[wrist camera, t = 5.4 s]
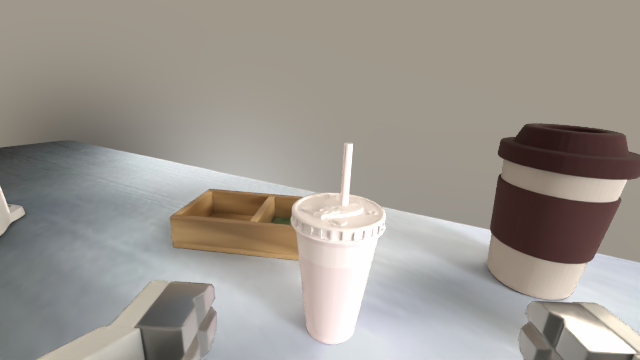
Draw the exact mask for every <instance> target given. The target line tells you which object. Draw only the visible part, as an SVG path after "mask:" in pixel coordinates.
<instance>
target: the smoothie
mask: <svg viewBox="0 0 640 360" xmlns="http://www.w3.org/2000/svg"><path fill="white" fill-rule="evenodd" d="M352 149H353V144H352V143H344V155H343V168H342V182H341V193H319V194H313V195H309V196H305V197H303V198H301V199H299V200H297V201H296V202H295V203H294V204H293V206H292V216H291V219H290V220H291V225H292V226H293V228H294V229H295V230H296V233H297V245H298V253H299V262H300V271H301V281H302V290H303V299H304V309H305V318H306V327H307V330H308V332H309V334H310V335H311V336H312V337H313V338H314V339H316V340H317V341H319V342H322V343H326V344H339V343H342V342H345V341H346V340H348V339H349V338H350V337H351V336H352V334H353V332H354V328H355V325H356V321H357V317H358V313H359V309H360V305H361V301H362V298H363V294H364V290H365V286H366V282H367V278H368V274H369V271H370V267H371V263H372V259H373V255H374V252H375V248H376V244H377V240H378V237H379V236H381V235H382V234H383V233H384V230H385V228H386V227H385V218H386V213H385V211H384V209H383V208H382V207H381V206H379V205H378V204H377V203H375V202H373V201H371V200H369V199H366V198H363V197H360V196H355V195H351V194H349V185H350V174H351V162H352Z"/></svg>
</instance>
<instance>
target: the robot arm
mask: <svg viewBox="0 0 640 360" xmlns="http://www.w3.org/2000/svg"><path fill="white" fill-rule="evenodd" d="M24 214H25V212H24V210H23V207H22V206H19V205H11V204H7V203H6V200H5V198H4V195H3V192H2V190H1V187H0V236H1V235H2V234H3V233H4V232H5V231H6V229H7V228H8V226H9V225H10V223H12V222H13V221H15V220H17V219H19V218H20V217H22V216H23V215H24ZM214 299H215V290H214V286H213V285H212V284H204V283H191V282H177V281H174V282H172V281H160V280H154V281H152V282H149V283H148V284H147V285H146V287H145V288H144V289H143V290H142V291H141V292H140V293H139V294H138V295H137V296H136V297H135V299H134V300H133V301H132V302H131V303H130V304H129V305H128V306H127V307H126V308H125V309H124V310H123V312H122V313H121V314H120V315H119V316H118V317H117V318H116V319H115V320H114V321H113V322H112V324H111V325H110V326H109V327H108V326H102V327H100V328H98V329H96V330H94V331H92V332H90V333H88V334H86V335H84V336H82V337H80V338H78V339H76V340H74V341H72V342H70V343H68V344H66V345H64V346H62V347H60V348H58V349H56V350H54V351H52V352H50V353H48V354H46V355H44V356H42V357H40V358H38V359H36V360H201V358H202V357H203V356H204V355H206V354H207V353H208V352H209V350H210V348H211V346H212V343H213V340H214V336H215V332H216V325H217V314H216V311H215V310H214V309H213V308H212V307H211V305H212V303H213V301H214ZM525 315H526V317H527V318H528V320H529V322H528V323H527V324H525V325H524V326H523V327H522V328H521V330H520V334H519V338H518V341H519V347H520V352H521V354H522V357H523V359H524V360H640V335H639V334H637V333H636V332H635V331H634V330H632V329H631V328H630V327H628V326H627V325H626V324H625V323H623V322H622V321H621V320H620V319H618V318H617V317H616V316H615V315H613V314H612V313H611V312H610V311H608V310H607V309H606V308H605V307H603V306H601V305H599V304H596V303H586V302H573V303H564V302H543V301H532V302H531V303H530V304H529V305H528V307H527V310H526V313H525Z"/></svg>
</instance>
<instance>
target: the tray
mask: <svg viewBox="0 0 640 360" xmlns="http://www.w3.org/2000/svg"><path fill="white" fill-rule="evenodd" d="M301 198H303V197H299V196H287V195H276V194H264V193H252V192H241V191H229V190H217V189H209V190H207V191H206V192H205V193H203V194H202V195H200V196H199V197H198V198H196V199H195V200H193V201H192V202H190V203H189V204H188V205H186V206H185V207H183V208H182V209H181V210H179V211H178V212H176V213H175V214H174V215H172V216H171V217H170V222H171V231H172V240H173V247H177V248H186V249H196V250H205V251H215V252H224V253H234V254H243V255H253V256H262V257H272V258H281V259H291V260H299V253H298V245H297V233H296V230H295V229H294V228H293V226H292V225H291V220H290V219H291V216H292V206H293V204H294V203H295V202H296V201H297V200H299V199H301Z"/></svg>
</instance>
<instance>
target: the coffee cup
mask: <svg viewBox="0 0 640 360" xmlns="http://www.w3.org/2000/svg"><path fill="white" fill-rule="evenodd" d="M498 155H499V156H500V157H501V158H503V159H504V161H503V167H502V173H501V174H500V175H499V177H498V182H497V188H496V195H495V201H494V207H493V214H492V220H491V227H490V230H491V233H492V235H491V241H490V247H489V254H488V260H487V265H488V268H489V270H490V272H491V273H492V275H493V276H494V277H495V278H497V279H498V280H499V281H500V282H502V283H503V284H505V285H506V286H508V287H510V288H512V289H514V290H516V291H518V292H520V293H523V294H526V295H529V296H532V297H536V298H540V299H547V300H561V299H565V298H567V297H569V296H570V295H571V294H572V293H573V292H574V290H575V288H576V286H577V284H578V282H579V279H580V277H581V275H582V273H583V271H584V269H585V267H586V265H587V263H588V262H590V261H591V260H592V259H593V258H594V256H595V254H596V252H597V250H598V248H599V246H600V244H601V242H602V240H603V238H604V235H605V233H606V231H607V229H608V227H609V225H610V223H611V221H612V219H613V217H614V215H615V213H616V211H617V209H618V207H619V204H620V202H621V198H620V197H619V196H620V194H621V192H622V190H623V188H624V186H625V183H626V181H627V180H629V179H636V178H638V177H640V155H639V154H636V153H632V152H629V151H628V147H627V141H626V136H625V135H624V134H622V133H618V132H614V131H608V130H603V129H596V128H588V127H579V126H569V125H557V124H556V125H555V124H526V125H524V127H523V128H522V129H521V131H520V132H519V133H518V135H517V136H516V137H509V138H503V139H502V140H501V142H500V146H499V150H498Z"/></svg>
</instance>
